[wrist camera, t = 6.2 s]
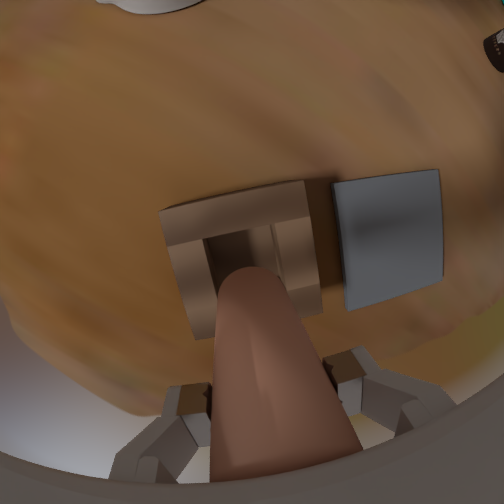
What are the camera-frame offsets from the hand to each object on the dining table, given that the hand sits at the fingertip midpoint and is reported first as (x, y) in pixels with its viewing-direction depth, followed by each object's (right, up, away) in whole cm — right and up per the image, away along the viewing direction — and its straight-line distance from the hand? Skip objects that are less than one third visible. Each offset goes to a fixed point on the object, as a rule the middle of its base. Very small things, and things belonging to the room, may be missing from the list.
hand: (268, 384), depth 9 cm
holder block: (-2, +5, +19) cm, 20 cm away
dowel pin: (-1, +2, +7) cm, 8 cm away
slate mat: (+15, +6, +20) cm, 26 cm away
